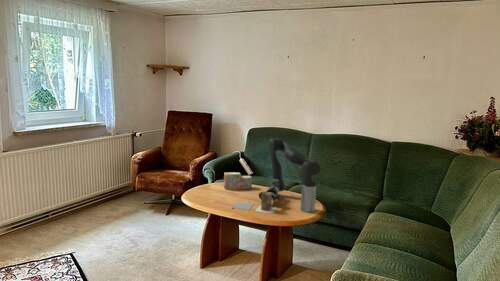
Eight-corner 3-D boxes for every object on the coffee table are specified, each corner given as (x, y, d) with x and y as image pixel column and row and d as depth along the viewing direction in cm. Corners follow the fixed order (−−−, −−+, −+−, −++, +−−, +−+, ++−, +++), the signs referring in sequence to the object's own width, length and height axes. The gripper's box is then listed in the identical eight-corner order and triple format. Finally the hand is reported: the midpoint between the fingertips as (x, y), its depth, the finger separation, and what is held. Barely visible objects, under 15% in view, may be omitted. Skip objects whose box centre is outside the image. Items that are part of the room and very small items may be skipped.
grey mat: (254, 205, 254) (254, 204, 254) (249, 210, 242) (249, 209, 242) (237, 203, 257) (237, 202, 257) (231, 208, 246) (231, 207, 246)
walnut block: (271, 208, 247) (271, 192, 246) (269, 211, 242) (270, 194, 240) (263, 207, 249) (263, 191, 247) (261, 209, 244) (261, 193, 242)
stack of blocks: (249, 186, 299) (250, 172, 297) (251, 189, 293) (252, 173, 291) (223, 187, 295) (224, 172, 293) (224, 189, 289) (225, 174, 287)
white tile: (276, 208, 250) (276, 207, 249) (272, 214, 238) (272, 213, 238) (259, 206, 253) (259, 205, 253) (254, 211, 241) (255, 210, 241)
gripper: (263, 186, 263) (257, 192, 248) (282, 188, 259) (277, 194, 244) (262, 196, 264) (256, 203, 249) (282, 198, 260) (277, 205, 245)
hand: (267, 198), depth 246 cm, fingers open, 8 cm apart
